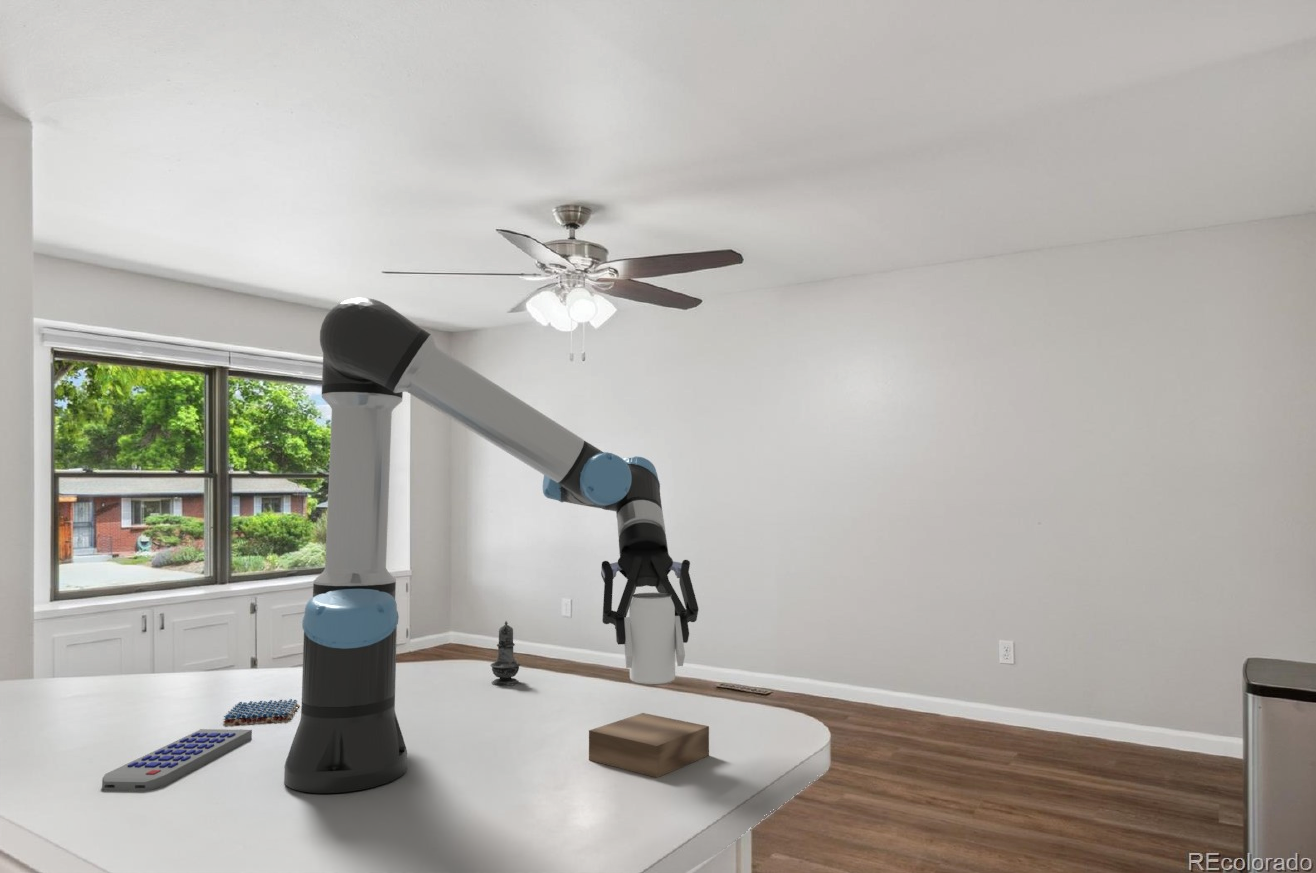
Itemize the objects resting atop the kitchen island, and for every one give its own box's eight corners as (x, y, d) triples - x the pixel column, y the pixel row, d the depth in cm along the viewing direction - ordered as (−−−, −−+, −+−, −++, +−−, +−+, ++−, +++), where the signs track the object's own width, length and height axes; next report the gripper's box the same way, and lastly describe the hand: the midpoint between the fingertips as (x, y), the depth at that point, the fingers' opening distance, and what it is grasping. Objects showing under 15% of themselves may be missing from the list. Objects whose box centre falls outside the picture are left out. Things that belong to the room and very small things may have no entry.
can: (621, 683, 116) (620, 596, 117) (643, 674, 122) (643, 591, 123) (662, 687, 113) (661, 598, 114) (683, 678, 119) (682, 593, 120)
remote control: (251, 742, 126) (252, 727, 126) (154, 794, 103) (155, 776, 103) (200, 742, 126) (201, 727, 126) (92, 793, 103) (94, 775, 104)
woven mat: (219, 729, 132) (220, 716, 132) (235, 713, 142) (235, 701, 143) (290, 725, 135) (290, 712, 135) (300, 709, 145) (301, 697, 145)
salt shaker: (523, 679, 167) (524, 619, 167) (515, 686, 161) (516, 623, 162) (495, 679, 167) (496, 618, 168) (486, 685, 161) (487, 623, 162)
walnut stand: (657, 777, 108) (657, 746, 108) (588, 759, 115) (589, 730, 116) (709, 755, 118) (708, 726, 118) (642, 740, 125) (642, 712, 125)
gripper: (699, 551, 135) (721, 674, 118) (579, 552, 133) (583, 679, 115) (705, 519, 130) (728, 643, 113) (581, 520, 128) (585, 647, 110)
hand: (655, 661), depth 114 cm, fingers closed on can, 6 cm apart
